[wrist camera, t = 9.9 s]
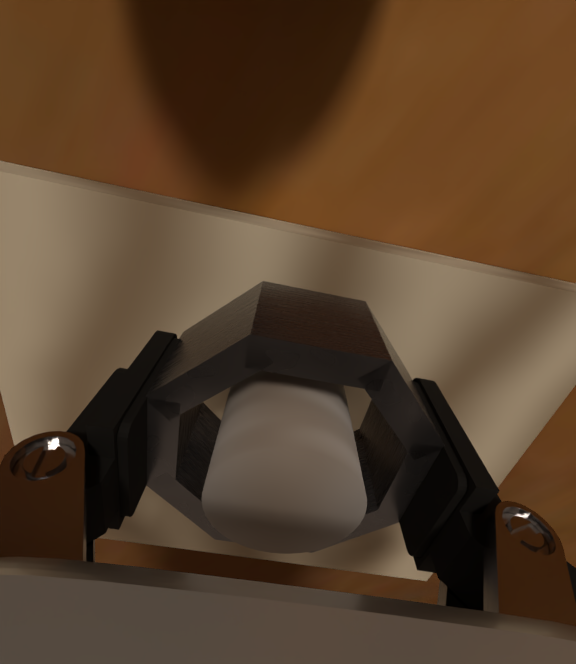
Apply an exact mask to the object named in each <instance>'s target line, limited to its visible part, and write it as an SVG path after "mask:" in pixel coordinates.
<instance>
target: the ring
mask: <svg viewBox="0 0 576 664" xmlns="http://www.w3.org/2000/svg"><path fill="white" fill-rule="evenodd" d="M260 370H261V371H267V372H272V373H278V374H284V375H289V376H295V377H300V378H306V379H312V380H317V381H323V382H329V383H334V384H340V385H345V386H351V387H357V388H362V389H365V390H366V392H367V393H368V395H369V396H370V398H371V399H372V400H371V402H370V404H369V407H368V409H367V412H366V414H365V417H364V419H363V421H362V424H361V426H360V429H358V430H355V431H353V433H354V437H355V442H356V447H357V452H358V457H359V462H360V467H361V472H362V477H363V482H364V487H365V491H366V496H367V508H366V513H365V515H364V518H363V520H362V521H361V523H360V525H359V526H358V527H357V528H356V529H355V530H354V531H353V532H352V533H351V534H350V535H349V536H347V537H346V538H344V539H343V540H341V541H339V542H337V543H335V544H333V545H336V544H339V543H342V542H345V541H347V540H350V539H353V538H356V537H359V536H362V535H365V534H367V533H370V532H373V531H376V530H379V529H382V528H385V527H388V526H390V525H393V524H396V523H399V521H400V519H401V517H402V515H403V514H404V512H405V510H406V509H407V507H408V505H409V504H410V502H411V500H412V499H413V497H414V495H415V493H416V492H417V490H418V488H419V487H420V485H421V483H422V482H423V480H424V478H425V477H426V475H427V473H428V471H429V470H430V468H431V466H432V465H433V463H434V461H435V460H436V458H437V456H438V455H439V453H440V451H441V449H442V448H443V446H445V445H444V443H443V441H442V439H441V437H440V435H439V433H438V431H437V429H436V427H435V425H434V423H433V421H432V419H431V417H430V415H429V413H428V411H427V409H426V407H425V405H424V403H423V401H422V399H421V397H420V395H419V393H418V391H417V389H416V387H415V385H414V383H413V380H412V378H411V376H410V374H409V373H408V371H407V369H406V368H405V366H404V364H403V363H402V361H401V359H400V358H399V356H398V354H397V353H396V351H395V349H394V348H393V346H392V344H391V343H390V341H389V339H388V338H387V336H386V334H385V333H384V331H383V329H382V328H381V326H380V324H379V323H378V321H377V319H376V318H375V316H374V314H373V313H372V311H371V309H370V308H369V306H368V304H367V303H366V301H362V300H357V299H352V298H347V297H342V296H337V295H332V294H327V293H322V292H317V291H312V290H307V289H302V288H297V287H292V286H286V285H281V284H276V283H271V282H266V281H262V282H261V283H259V284H257V285H256V286H254V287H253V288H251V289H250V290H248V291H246V292H245V293H243V294H242V295H240V296H239V297H237V298H235V299H234V300H232V301H231V302H229V303H228V304H226V305H224V306H223V307H221V308H220V309H218V310H217V311H215V312H213V313H212V314H210V315H209V316H207V317H206V318H204V319H202V320H201V321H199V322H198V323H196V324H195V325H193V326H192V327H190V328H188V329H187V330H185V331H184V332H183V333H182V335H181V336H180V338H179V341H178V343H177V344H176V346H175V348H174V349H173V351H172V353H171V354H170V356H169V358H168V360H167V361H166V363H165V365H164V366H163V368H162V370H161V371H160V373H159V375H158V376H157V378H156V380H155V381H154V383H153V385H152V386H151V388H150V390H149V391H148V393H147V395H146V397H147V485H146V486H148V487H149V488H150V489H151V490H153V491H154V492H155V493H157V494H158V495H159V496H160V497H162V498H163V499H164V500H165V501H167V502H168V503H169V504H170V505H172V506H173V507H174V508H176V509H177V510H178V511H179V512H181V513H182V514H183V515H184V516H186V517H187V518H188V519H189V520H191V521H192V522H193V523H195V524H196V525H197V526H198V527H200V528H201V529H202V530H203V531H205V532H206V533H207V534H209V535H210V536H211V537H212V538H214V539H215V540H222V541H229V542H233V541H232V540H230V539H228V538H226V537H225V536H224V535H222V534H221V533H220V532H218V531H217V530H216V529H215V528H214V527H213V526H212V524H211V523H210V522H209V521H208V519H207V517H206V516H205V513H204V511H203V507H202V492H203V488H204V484H205V480H206V476H207V473H208V469H209V465H210V461H211V458H212V454H213V450H214V446H215V443H216V439H217V435H218V431H219V428H220V424H221V420H220V419H219V418H218V417H217V416H216V415H215V414H214V413H213V412H212V411H211V410H210V409H209V408H208V407H207V406H206V405H205V404H204V403H203V402H204V401H206V400H207V399H209V398H211V397H213V396H215V395H217V394H218V393H220V392H222V391H224V390H226V389H227V388H229V387H231V386H233V385H235V384H237V383H238V382H240V381H242V380H244V379H246V378H247V377H249V376H251V375H253V374H255V373H257V372H258V371H260ZM333 545H331V546H333ZM328 547H330V546H328ZM326 548H327V547H326ZM322 549H324V548H322ZM322 549H319V550H322ZM319 550H315V551H310V552H309V553H313V552H316V551H319Z"/></svg>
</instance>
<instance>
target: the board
mask: <svg viewBox="0 0 576 664" xmlns="http://www.w3.org/2000/svg"><path fill="white" fill-rule="evenodd" d="M262 281H266V282H271V283H276V284H281V285H286V286H292V287H297V288H302V289H307V290H312V291H317V292H322V293H327V294H332V295H337V296H342V297H347V298H352V299H357V300H362V301H366V303H367V304H368V306H369V308H370V309H371V311H372V313H373V314H374V316H375V318H376V319H377V321H378V323H379V324H380V326H381V328H382V329H383V331H384V333H385V334H386V336H387V338H388V339H389V341H390V343H391V344H392V346H393V348H394V349H395V351H396V353H397V354H398V356H399V358H400V359H401V361H402V363H403V364H404V366H405V368H406V369H407V371H408V373H409V374H410V376H411V378H412V380H413V379H414V378H422V379H427V380H432V381H435V382H436V384H437V385H438V387H439V389H440V391H441V392H442V394H443V396H444V397H445V399H446V401H447V402H448V404H449V406H450V407H451V409H452V411H453V413H454V414H455V416H456V418H457V419H458V421H459V423H460V424H461V426H462V428H463V430H464V431H465V433H466V435H467V436H468V438H469V440H470V441H471V443H472V445H473V447H474V448H475V450H476V452H477V453H478V455H479V457H480V458H481V460H482V462H483V464H484V465H485V467H486V469H487V470H488V472H489V474H490V475H491V477H492V479H493V481H494V482H495V484H496V486H497V487H498V486H499V485H500V484H501V482H502V481H503V480H504V479H505V477H506V476H507V475H508V473H509V472H510V471H511V469H512V468H513V467H514V465H515V464H516V463H517V461H518V460H519V459H520V457H521V456H522V455H523V453H524V452H525V451H526V450H527V448H528V447H529V446H530V444H531V443H532V442H533V440H534V439H535V438H536V436H537V435H538V434H539V432H540V431H541V430H542V428H543V427H544V426H545V425H546V423H547V422H548V421H549V419H550V418H551V417H552V415H553V414H554V413H555V411H556V410H557V409H558V407H559V406H560V405H561V403H562V402H563V401H564V399H565V398H566V397H567V396H568V394H569V393H570V392H571V390H572V389H573V388H574V386H575V385H576V284H575V283H571V282H566V281H561V280H557V279H552V278H547V277H542V276H538V275H533V274H528V273H524V272H519V271H514V270H510V269H505V268H500V267H496V266H491V265H486V264H482V263H477V262H472V261H467V260H463V259H458V258H453V257H449V256H444V255H439V254H435V253H430V252H425V251H421V250H416V249H411V248H407V247H402V246H397V245H392V244H388V243H383V242H378V241H374V240H369V239H364V238H360V237H355V236H350V235H346V234H341V233H336V232H332V231H327V230H322V229H317V228H313V227H308V226H303V225H299V224H294V223H289V222H285V221H280V220H275V219H271V218H266V217H261V216H257V215H252V214H247V213H242V212H238V211H233V210H228V209H224V208H219V207H214V206H210V205H205V204H200V203H196V202H191V201H186V200H182V199H177V198H172V197H167V196H163V195H158V194H153V193H149V192H144V191H139V190H135V189H130V188H125V187H121V186H116V185H111V184H107V183H102V182H97V181H92V180H88V179H83V178H78V177H74V176H69V175H64V174H60V173H55V172H50V171H46V170H41V169H36V168H32V167H27V166H22V165H17V164H13V163H8V162H3V161H0V391H1V395H2V399H3V403H4V407H5V411H6V414H7V418H8V422H9V426H10V430H11V434H12V438H13V442H14V446H15V445H17V444H18V443H20V442H21V441H22V440H24V439H27V438H29V437H31V436H33V435H36V434H40V433H44V432H50V431H63V432H66V431H67V430H68V429H69V427H70V426H71V425H72V424H73V422H74V421H75V420H76V419H77V417H78V416H79V415H80V414H81V412H82V411H83V410H84V409H85V407H86V406H87V405H88V404H89V402H90V401H91V400H92V399H93V397H94V396H95V395H96V394H97V392H98V391H99V390H100V389H101V387H102V386H103V385H104V384H105V382H106V381H107V380H108V379H109V377H110V376H111V375H112V374H113V372H114V371H115V370H116V369H118V368H126V369H128V368H129V367H130V365H131V364H132V363H133V361H134V360H135V359H136V357H137V356H138V355H139V353H140V352H141V351H142V349H143V348H144V347H145V345H146V344H147V343H148V341H149V340H150V339H151V337H152V336H153V335H154V333H155V332H156V331H157V330H159V331H164V332H170V333H175V334H177V339H179V338H180V336H181V335H182V333H183V332H184V331H185V330H187V329H188V328H190V327H192V326H193V325H195V324H196V323H198V322H199V321H201V320H202V319H204V318H206V317H207V316H209V315H210V314H212V313H213V312H215V311H217V310H218V309H220V308H221V307H223V306H224V305H226V304H228V303H229V302H231V301H232V300H234V299H235V298H237V297H239V296H240V295H242V294H243V293H245V292H246V291H248V290H250V289H251V288H253V287H254V286H256V285H257V284H259V283H261V282H262ZM371 400H372V399H371V398H370V396H369V395H368V393H367V392H366V390H365V389H362V388H357V387H351V386H345V385H340V384H334V383H329V382H323V381H317V380H312V379H306V378H300V377H295V376H289V375H284V374H278V373H272V372H267V371H261V370H260V371H258V372H257V373H255V374H253V375H251V376H249V377H247V378H246V379H244V380H242V381H240V382H238V383H237V384H235V385H233V386H231V387H229V388H227V389H226V390H224V391H222V392H220V393H218V394H217V395H215V396H213V397H211V398H209V399H207V400H206V401H204V402H203V403H204V404H205V405H206V406H207V407H208V408H209V409H210V410H211V411H212V412H213V413H214V414H215V415H216V416H217V417H218V418H219V419H220V420H221V424H220V428H219V431H218V435H217V439H216V443H215V446H214V450H213V454H212V458H211V461H210V465H209V469H208V473H207V476H206V480H205V484H204V488H203V492H202V507H203V511H204V513H205V516H206V517H207V519H208V521H209V522H210V523H211V524H212V526H213V527H214V528H215V529H216V530H217V531H218V532H220V533H221V534H222V535H224V536H225V537H226V538H228V539H230V540H232V541H233V542H229V541H222V540H215V539H214V538H212V537H211V536H210V535H209V534H207V533H206V532H205V531H203V530H202V529H201V528H200V527H198V526H197V525H196V524H195V523H193V522H192V521H191V520H189V519H188V518H187V517H186V516H184V515H183V514H182V513H181V512H179V511H178V510H177V509H176V508H174V507H173V506H172V505H170V504H169V503H168V502H167V501H165V500H164V499H163V498H162V497H160V496H159V495H158V494H157V493H155V492H154V491H153V490H151V489H150V488H149V487H148V486H146V487H145V490H144V492H143V494H142V496H141V499H140V501H139V503H138V506H137V508H136V510H135V512H134V514H133V516H132V517H127V516H125V518H124V520H123V522H122V524H121V527H120V529H119V530H117V529H109V528H108V530H107V532H106V533H105V534H104V535H102V536H100V537H98V538H104V539H112V540H119V541H127V542H134V543H142V544H150V545H157V546H165V547H172V548H180V549H187V550H195V551H203V552H210V553H218V554H225V555H233V556H241V557H248V558H256V559H263V560H271V561H278V562H286V563H294V564H301V565H309V566H316V567H324V568H332V569H339V570H347V571H354V572H362V573H369V574H377V575H385V576H392V577H400V578H407V579H415V580H423V581H427V580H428V579H429V577H430V576H431V575H432V573H433V572H426V571H419V570H417V568H416V565H415V561H414V558H413V556H410V555H409V553H408V552H407V549H406V545H405V542H404V538H403V534H402V531H401V527H400V523H396V524H393V525H390V526H388V527H385V528H382V529H379V530H376V531H373V532H370V533H367V534H365V535H362V536H359V537H356V538H353V539H350V540H347V541H345V542H342V543H339V544H336V545H333V544H335V543H337V542H339V541H341V540H343V539H344V538H346V537H347V536H349V535H350V534H351V533H352V532H353V531H354V530H355V529H356V528H357V527H358V526H359V525H360V523H361V521H362V520H363V518H364V515H365V513H366V508H367V496H366V491H365V487H364V482H363V477H362V472H361V467H360V462H359V457H358V452H357V447H356V442H355V437H354V433H353V431H355V430H358V429H360V426H361V424H362V421H363V419H364V417H365V414H366V412H367V409H368V407H369V404H370V402H371ZM331 545H333V546H331ZM328 546H330V547H328ZM326 547H327V548H326ZM322 548H324V549H322ZM319 549H322V550H319ZM315 550H319V551H316V552H313V553H309V552H310V551H315Z"/></svg>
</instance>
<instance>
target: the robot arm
mask: <svg viewBox="0 0 576 664" xmlns="http://www.w3.org/2000/svg"><path fill="white" fill-rule="evenodd" d="M178 341H179V339H177V334H175V333H170V332H164V331H159V330H157V331H156V332H155V333H154V335H153V336H152V337H151V339H150V340H149V341H148V343H147V344H146V345H145V347H144V348H143V349H142V351H141V352H140V353H139V355H138V356H137V357H136V359H135V360H134V361H133V363H132V364H131V365H130V367H129V368H128V369H126V368H118V369H116V370H115V371H114V372H113V374H112V375H111V376H110V377H109V379H108V380H107V381H106V382H105V384H104V385H103V386H102V387H101V389H100V390H99V391H98V392H97V394H96V395H95V396H94V397H93V399H92V400H91V401H90V402H89V404H88V405H87V406H86V407H85V409H84V410H83V411H82V412H81V414H80V415H79V416H78V417H77V419H76V420H75V421H74V422H73V424H72V425H71V426H70V427H69V429H68V430H67V431H66V432H63V431H50V432H44V433H40V434H36V435H33V436H31V437H29V438H27V439H24V440H22V441H21V442H20V443H18V444H17V445H15V446H14V447H12V448H11V449H10V450H9V452H8V453H7V454H6V455H5V456H4V458H3V460H2V462H1V464H0V664H576V568H575V567H573V566H572V565H571V564H569V563H568V562H567V561H566V558H565V553H564V549H563V546H562V543H561V541H560V538H559V537H558V535H557V534H556V532H555V531H554V529H553V528H552V527H551V526H550V525H549V524H548V523H547V522H546V521H545V520H544V519H543V518H542V517H541V516H539V515H538V514H537V513H536V512H534V511H533V510H531V509H529V508H528V507H526V506H524V505H522V504H519V503H517V502H512V501H503V502H501V500H500V498H499V497H498V495H497V493H498V492H499V489H498V487H497V486H496V484H495V482H494V481H493V479H492V477H491V475H490V474H489V472H488V470H487V469H486V467H485V465H484V464H483V462H482V460H481V458H480V457H479V455H478V453H477V452H476V450H475V448H474V447H473V445H472V443H471V441H470V440H469V438H468V436H467V435H466V433H465V431H464V430H463V428H462V426H461V424H460V423H459V421H458V419H457V418H456V416H455V414H454V413H453V411H452V409H451V407H450V406H449V404H448V402H447V401H446V399H445V397H444V396H443V394H442V392H441V391H440V389H439V387H438V385H437V384H436V382H435V381H432V380H427V379H422V378H414V379H413V383H414V385H415V387H416V389H417V391H418V393H419V395H420V397H421V399H422V401H423V403H424V405H425V407H426V409H427V411H428V413H429V415H430V417H431V419H432V421H433V423H434V425H435V427H436V429H437V431H438V433H439V435H440V437H441V439H442V441H443V443H444V445H445V446H443V448H442V449H441V451H440V453H439V455H438V456H437V458H436V460H435V461H434V463H433V465H432V466H431V468H430V470H429V471H428V473H427V475H426V477H425V478H424V480H423V482H422V483H421V485H420V487H419V488H418V490H417V492H416V493H415V495H414V497H413V499H412V500H411V502H410V504H409V505H408V507H407V509H406V510H405V512H404V514H403V515H402V517H401V519H400V521H399V523H400V527H401V531H402V534H403V538H404V542H405V545H406V549H407V552H408V553H409V555H410V556H413V558H414V561H415V565H416V568H417V570H419V571H426V572H433V573H437V576H438V578H439V579H440V585H439V594H438V603H437V605H435V604H428V603H420V602H413V601H405V600H398V599H390V598H383V597H375V596H367V595H359V594H352V593H344V592H336V591H328V590H321V589H313V588H305V587H297V586H289V585H281V584H273V583H266V582H258V581H250V580H242V579H233V578H225V577H217V576H209V575H201V574H193V573H184V572H176V571H168V570H160V569H152V568H144V567H135V566H125V565H115V564H106V563H96V562H95V539H97V538H98V537H100V536H102V535H104V534H105V533H106V532H107V530H108V528H109V529H117V530H119V529H120V527H121V524H122V522H123V520H124V518H125V516H127V517H132V516H133V514H134V512H135V510H136V508H137V506H138V503H139V501H140V499H141V496H142V494H143V492H144V490H145V487H146V485H147V397H146V395H147V393H148V391H149V390H150V388H151V386H152V385H153V383H154V381H155V380H156V378H157V376H158V375H159V373H160V371H161V370H162V368H163V366H164V365H165V363H166V361H167V360H168V358H169V356H170V354H171V353H172V351H173V349H174V348H175V346H176V344H177V343H178Z"/></svg>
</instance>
